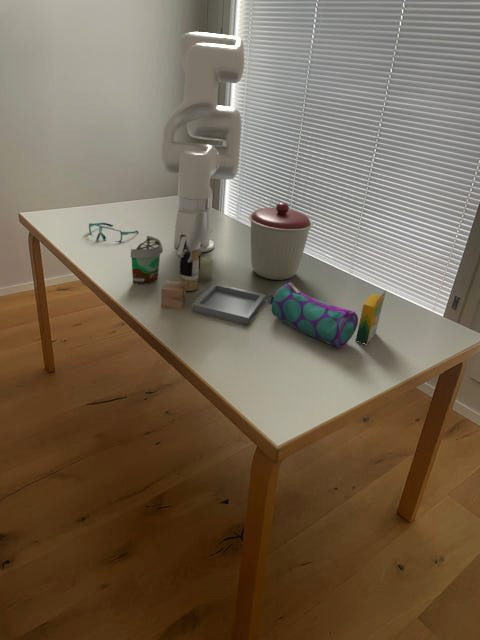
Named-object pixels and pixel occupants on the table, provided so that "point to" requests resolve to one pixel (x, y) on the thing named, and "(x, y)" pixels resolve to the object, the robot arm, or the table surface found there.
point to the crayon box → (370, 318)
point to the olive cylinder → (205, 269)
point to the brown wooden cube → (173, 294)
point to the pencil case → (313, 316)
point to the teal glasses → (107, 228)
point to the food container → (146, 261)
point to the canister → (278, 241)
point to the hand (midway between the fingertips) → (189, 271)
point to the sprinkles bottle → (193, 280)
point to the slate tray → (229, 303)
